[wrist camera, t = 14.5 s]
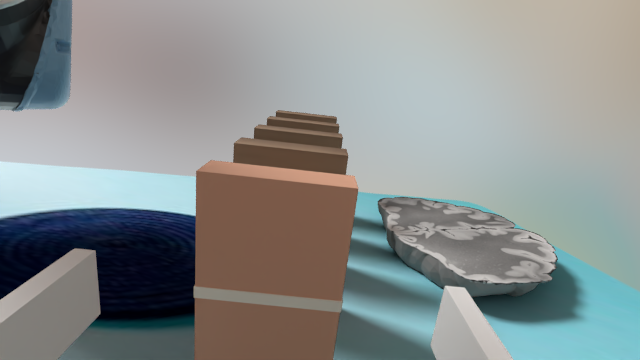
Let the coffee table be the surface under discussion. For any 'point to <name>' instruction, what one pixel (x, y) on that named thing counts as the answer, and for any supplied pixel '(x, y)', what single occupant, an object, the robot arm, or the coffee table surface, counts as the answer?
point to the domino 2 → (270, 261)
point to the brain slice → (466, 247)
